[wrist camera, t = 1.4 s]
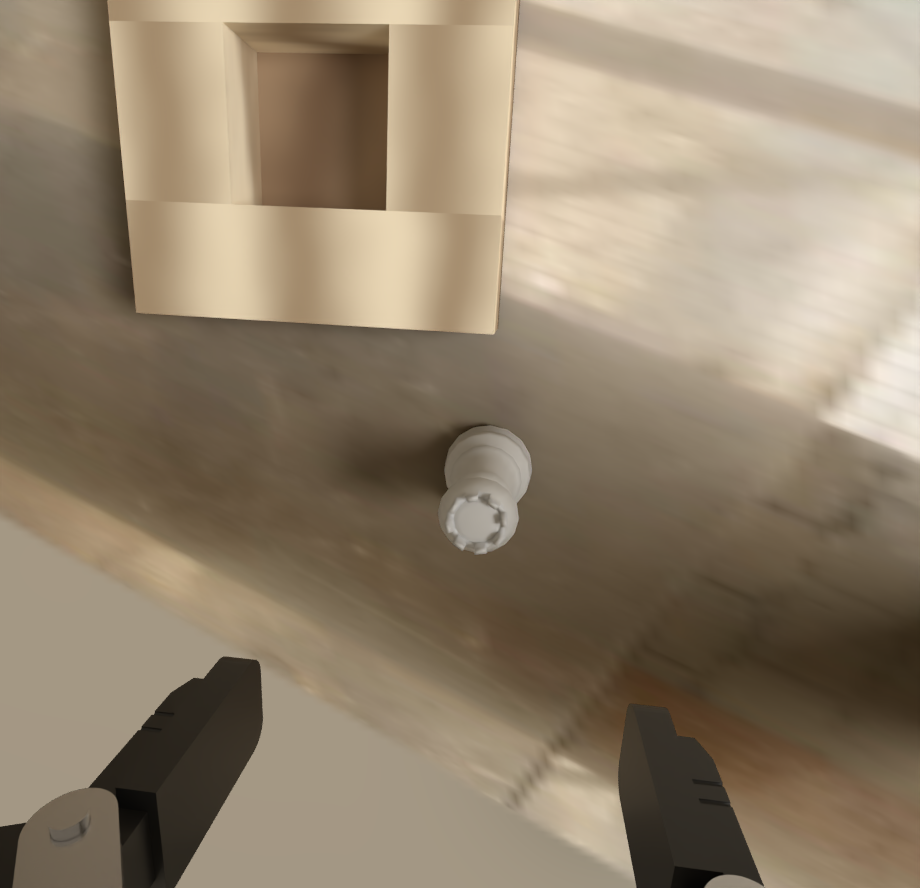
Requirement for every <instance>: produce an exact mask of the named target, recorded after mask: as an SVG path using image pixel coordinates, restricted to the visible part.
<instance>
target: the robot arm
mask: <svg viewBox="0 0 920 888" xmlns="http://www.w3.org/2000/svg"><path fill="white" fill-rule="evenodd" d="M262 722H263V712H262V691H261V670H260V664H259V662H258V661H257V660H251V659H243V658H233V657H222V658H221V659H219V661H218V662H217V663H216V664H215V665H214V667H213V668H212V669H211V670H210V671H209V673H208V674H207V675H206V676H205V678H204V679H199V678H193V679H191V680H190V681H188V682H187V683H185V684H184V685H182V686H181V687H179V688H178V689H176V690H174V691H173V692H171V693H170V695H169V696H168V697H167V698H166V699H165V700H164V701H163V703H162V704H161V705H160V706H159V707H158V708H157V709H156V711H155V714H154V715H151V716H150V717H149V719H148V720H147V721H146V722H145V723H144V724H143V726H142V729H141V730H138V731H137V733H136V734H135V735H134V736H133V737H132V738H131V739H130V740H129V742H128V743H127V744H126V745H125V746H124V748H123V749H122V750H121V751H120V752H119V753H118V755H116V757H115V758H114V759H113V760H112V761H111V762H110V764H109V765H108V766H107V767H106V768H105V769H104V770H103V772H102V773H101V774H100V775H99V776H98V777H97V778H96V780H95V781H94V782H93V783H92V784H91V785H90V787H89V788H85V789H79V790H75V791H72V792H69V793H67V794H64V795H62V796H60V797H58V798H56V799H54V800H52V801H51V802H49V803H48V804H46V805H45V806H43V807H42V808H41V809H39V810H38V811H37V812H36V813H35V814H34V815H33V816H32V817H31V818H30V819H29V820H28V821H27V823H22V824H15V825H9V826H3V827H0V888H175V886H176V884H177V883H178V881H179V879H180V878H181V876H182V874H183V873H184V871H185V869H186V867H187V866H188V864H189V862H190V860H191V859H192V857H193V855H194V854H195V852H196V850H197V849H198V847H199V845H200V843H201V842H202V840H203V838H204V836H205V835H206V833H207V831H208V830H209V828H210V826H211V824H212V823H213V821H214V819H215V817H216V816H217V814H218V812H219V811H220V809H221V807H222V805H223V804H224V802H225V800H226V799H227V797H228V795H229V793H230V791H231V790H232V788H233V786H234V785H235V783H236V781H237V780H238V778H239V776H240V774H241V772H242V771H243V769H244V768H245V766H246V764H247V762H248V761H249V759H250V757H251V755H252V754H253V752H254V750H255V748H256V746H257V744H258V741H259V738H260V734H261V730H262ZM618 784H619V796H620V802H621V807H622V812H623V818H624V823H625V828H626V834H627V839H628V844H629V850H630V855H631V860H632V865H633V871H634V876H635V881H636V887H637V888H765V887H764V885H763V883H762V880H761V878H760V875H759V873H758V870H757V868H756V865H755V863H754V860H753V858H752V855H751V853H750V850H749V848H748V845H747V843H746V840H745V838H744V835H743V833H742V830H741V828H740V825H739V823H738V820H737V818H736V815H735V813H734V810H733V808H732V807H731V806H730V800H729V798H728V795H727V793H726V790H725V788H724V787H723V786H722V780H721V778H720V775H719V773H718V770H717V768H716V765H715V763H714V760H713V759H712V758H711V756H710V755H709V754H708V753H707V752H706V751H705V750H704V748H703V747H702V746H701V745H700V744H699V743H698V742H697V740H696V739H695V738H690V737H682V736H677V734H676V731H675V728H674V725H673V722H672V719H671V716H670V713H669V711H668V709H667V708H664V707H655V706H646V705H638V704H629V706H628V709H627V714H626V720H625V727H624V734H623V740H622V747H621V753H620V760H619V771H618Z"/></svg>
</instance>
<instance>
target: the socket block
mask: <svg viewBox="0 0 920 888" xmlns="http://www.w3.org/2000/svg"><path fill="white" fill-rule="evenodd" d="M107 4H108V15H109V25H110V36H111V47H112V58H113V68H114V79H115V90H116V101H117V111H118V122H119V133H120V144H121V154H122V165H123V176H124V187H125V197H126V208H127V219H128V230H129V240H130V251H131V262H132V273H133V283H134V294H135V305H136V313H147V314H164V315H181V316H197V317H214V318H230V319H247V320H263V321H280V322H296V323H313V324H330V325H346V326H363V327H379V328H396V329H412V330H429V331H445V332H462V333H478V334H494V333H495V332H496V330H497V329H498V320H499V305H500V291H501V276H502V261H503V246H504V231H505V216H506V201H507V186H508V171H509V156H510V141H511V126H512V112H513V97H514V82H515V67H516V52H517V37H518V22H519V7H520V0H107Z"/></svg>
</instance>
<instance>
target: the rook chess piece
mask: <svg viewBox="0 0 920 888" xmlns="http://www.w3.org/2000/svg"><path fill="white" fill-rule="evenodd" d="M444 472H445V479H446V485H447V487H448V490H447V492H446V493H445V494H444V495H443V497H442V498H441V502H440V506H439V510H438V516H439V522H440V527H441V529H442V530H443V532H444V533H445V535H446V537H447V538H448V540H450V541H451V542H452V544H453V545H454V546H456V547H457V548H458V549H460V550H461V551H463V549H464V550H467V551H471V552H474V555H477V554H487V552H491V551H493V550H495V549H497V548H499V547H501V546H503V545H505V544H506V543H507V542H508V540H509V539H510V538H511V537H512V536H513V535H514V533H515V530H516V527H517V523H518V520H519V517H518V509H517V504H516V503H517V502H518V501H519V500H520V499H521V497H522V496H523V495H524V494H525V493H526V491H527V488H528V484H529V481H530V477H531V473H532V466H531V458H530V454H529V452H528V450H527V449H526V447H525V445H524V444H523V442H522V440H521V439H519V438H518V437H517V436H515V435H514V434H513V433H511V432H510V431H509V430H507V429H503V428H499V427H495V426H492V425H489V426H481V427H473V428H472V429H470V430H468V431H466V432H465V433H463V434H461V435H459V436H458V438H457V439H456V440H455V441H454V443H453V444H452V445H451V447H450V448H449V450H448V454H447V458H446V462H445V468H444Z"/></svg>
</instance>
